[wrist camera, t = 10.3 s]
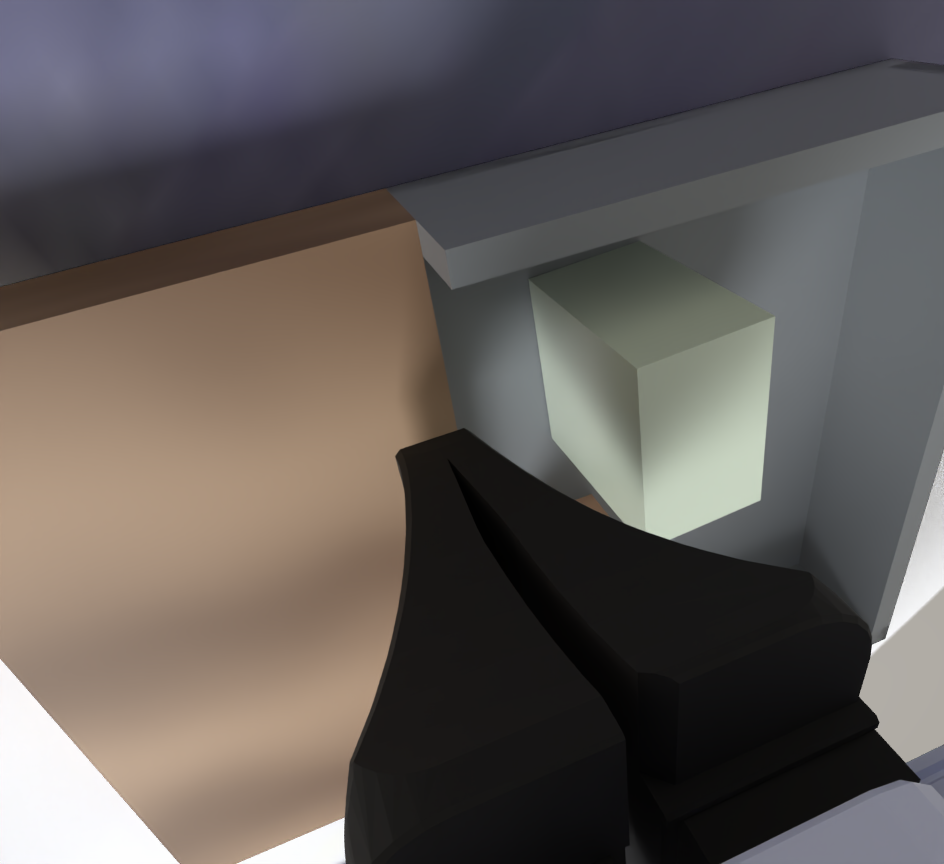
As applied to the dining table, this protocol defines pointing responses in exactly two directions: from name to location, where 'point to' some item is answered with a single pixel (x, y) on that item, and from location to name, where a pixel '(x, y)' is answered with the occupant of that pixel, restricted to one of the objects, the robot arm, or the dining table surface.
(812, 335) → the tray
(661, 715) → the robot arm
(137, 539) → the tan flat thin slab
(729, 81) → the dining table surface
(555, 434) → the tile sage
